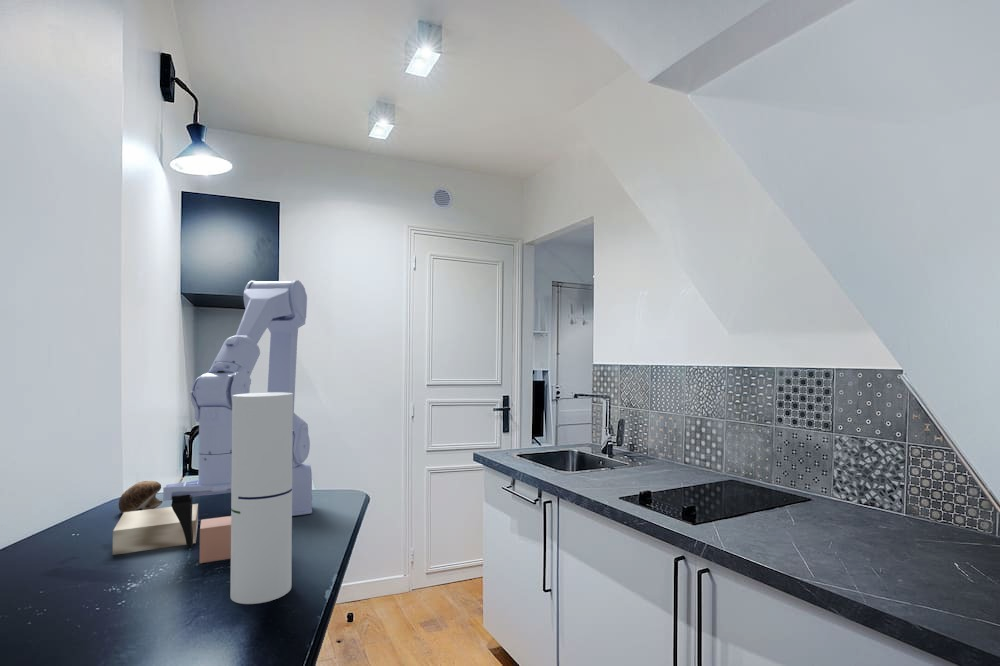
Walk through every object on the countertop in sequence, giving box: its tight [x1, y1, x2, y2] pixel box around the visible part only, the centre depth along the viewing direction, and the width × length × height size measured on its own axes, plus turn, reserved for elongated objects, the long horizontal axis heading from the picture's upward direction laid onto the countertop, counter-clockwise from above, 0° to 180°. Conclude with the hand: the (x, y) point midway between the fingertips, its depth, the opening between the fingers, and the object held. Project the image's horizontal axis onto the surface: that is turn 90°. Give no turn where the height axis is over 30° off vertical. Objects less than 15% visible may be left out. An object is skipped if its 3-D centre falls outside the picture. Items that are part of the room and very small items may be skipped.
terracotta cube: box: [199, 515, 231, 564], centre depth 83 cm, size 5×5×5 cm
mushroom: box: [118, 480, 163, 514], centre depth 106 cm, size 8×8×6 cm
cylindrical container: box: [229, 392, 293, 605], centre depth 70 cm, size 7×7×25 cm
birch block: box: [112, 503, 199, 556], centre depth 91 cm, size 11×11×4 cm
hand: (219, 542), depth 83 cm, fingers open, 7 cm apart
